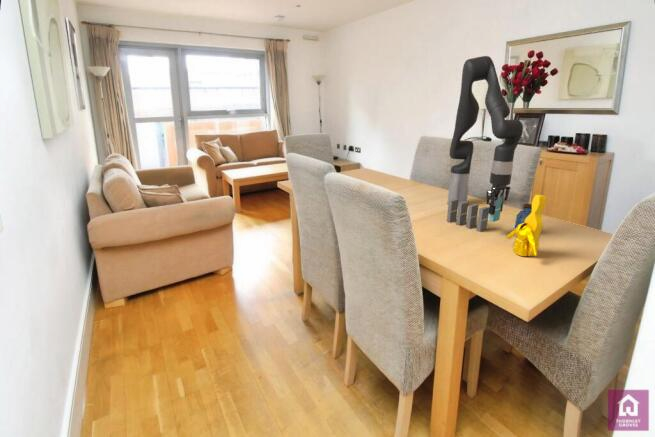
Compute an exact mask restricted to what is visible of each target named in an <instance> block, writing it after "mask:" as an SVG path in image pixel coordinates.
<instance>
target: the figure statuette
mask: <svg viewBox="0 0 655 437" xmlns="http://www.w3.org/2000/svg"><path fill="white" fill-rule="evenodd" d="M546 204H547V196H545V195H542V194H535V195H534V197H533V199H532V201H531V205H532V211H531V213H530V215H529V216H528V217H527V218H526V219H525V222H524V223H523V224H519V225H518V226H517V228H516V229H513V230H512V231H510V232H509V233H508V234H507V235H505V238H506V239H508V240H510V239H512V238H513V237H515V236H516V238H515V240H514V244H513V247H512V252H513V253H514V255H515V254H516V255H518V256H521V257H527V256H528V257H538V251H539V246H540V234H541V232H542V230H543V227H544V226H543V225H544V221H543V218H542V212H543V211H544V209H545V207H546Z"/></svg>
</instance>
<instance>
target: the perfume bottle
mask: <svg viewBox="0 0 655 437" xmlns="http://www.w3.org/2000/svg"><path fill="white" fill-rule="evenodd" d="M531 212H532V203H524V204H523V206H522V210H520V211H519V212H518V213H517V214H516V217H515V224H514V229H513V230H515V229H516V228H517V226H518V225H519V224H523V223H524V222H525V219H526V218H527V217H528V216H529V215H530V213H531Z"/></svg>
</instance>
